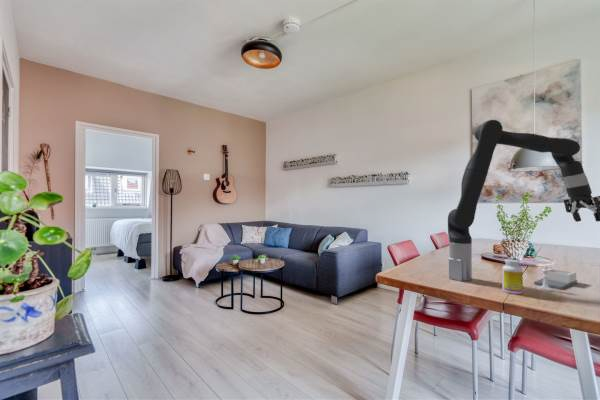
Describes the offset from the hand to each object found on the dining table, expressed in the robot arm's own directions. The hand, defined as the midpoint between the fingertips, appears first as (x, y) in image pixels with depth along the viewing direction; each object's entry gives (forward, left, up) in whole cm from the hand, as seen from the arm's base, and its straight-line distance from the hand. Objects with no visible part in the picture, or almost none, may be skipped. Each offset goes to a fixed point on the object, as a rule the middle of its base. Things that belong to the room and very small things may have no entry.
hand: (588, 221), depth 124 cm
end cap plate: (-7, +9, -28) cm, 30 cm away
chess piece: (-22, +8, -28) cm, 37 cm away
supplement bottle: (-37, +14, -28) cm, 49 cm away
